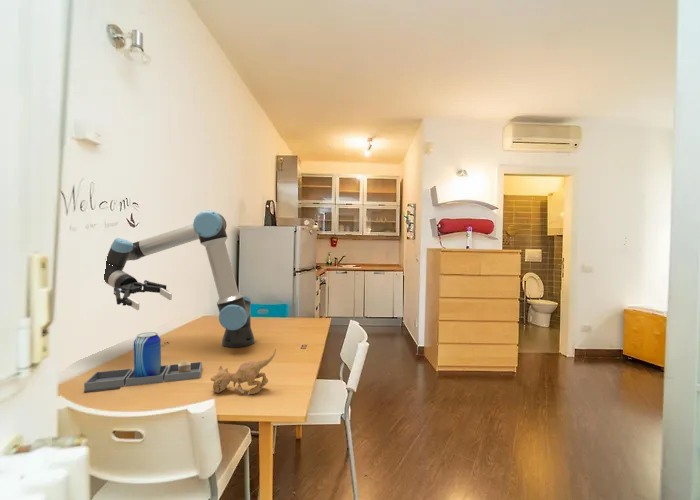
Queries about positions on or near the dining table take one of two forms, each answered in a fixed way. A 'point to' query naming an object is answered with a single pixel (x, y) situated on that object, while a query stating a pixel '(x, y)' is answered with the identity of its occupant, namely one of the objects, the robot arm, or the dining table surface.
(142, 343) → the beer can
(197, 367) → the tray
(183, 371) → the beige cube
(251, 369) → the toy
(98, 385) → the tray
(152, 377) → the tray middle
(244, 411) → the dining table surface
